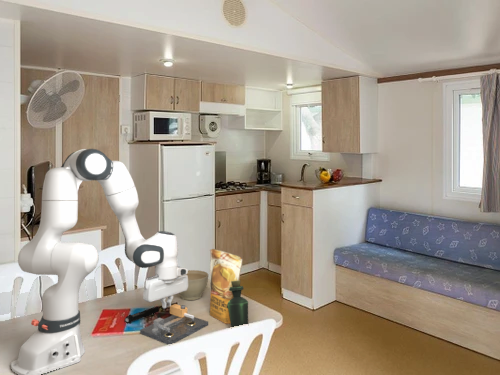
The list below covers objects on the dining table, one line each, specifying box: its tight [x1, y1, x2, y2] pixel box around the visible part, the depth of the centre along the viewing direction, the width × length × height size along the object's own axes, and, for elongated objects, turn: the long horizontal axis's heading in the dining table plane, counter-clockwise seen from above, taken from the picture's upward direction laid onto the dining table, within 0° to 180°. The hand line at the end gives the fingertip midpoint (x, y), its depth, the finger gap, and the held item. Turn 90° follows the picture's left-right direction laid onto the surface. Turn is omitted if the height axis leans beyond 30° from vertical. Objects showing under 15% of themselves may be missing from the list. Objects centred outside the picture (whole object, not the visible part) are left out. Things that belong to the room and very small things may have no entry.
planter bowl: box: [179, 269, 209, 301], centre depth 195 cm, size 16×16×11 cm
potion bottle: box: [227, 279, 249, 328], centre depth 161 cm, size 8×8×18 cm
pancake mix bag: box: [209, 248, 243, 325], centre depth 171 cm, size 7×19×28 cm, turn 40°
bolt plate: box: [139, 312, 209, 346], centre depth 161 cm, size 21×16×6 cm
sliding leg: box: [169, 303, 195, 322], centre depth 166 cm, size 3×12×5 cm, turn 55°
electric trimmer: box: [123, 306, 160, 325], centre depth 172 cm, size 4×16×3 cm, turn 137°
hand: (166, 307), depth 162 cm, fingers closed
